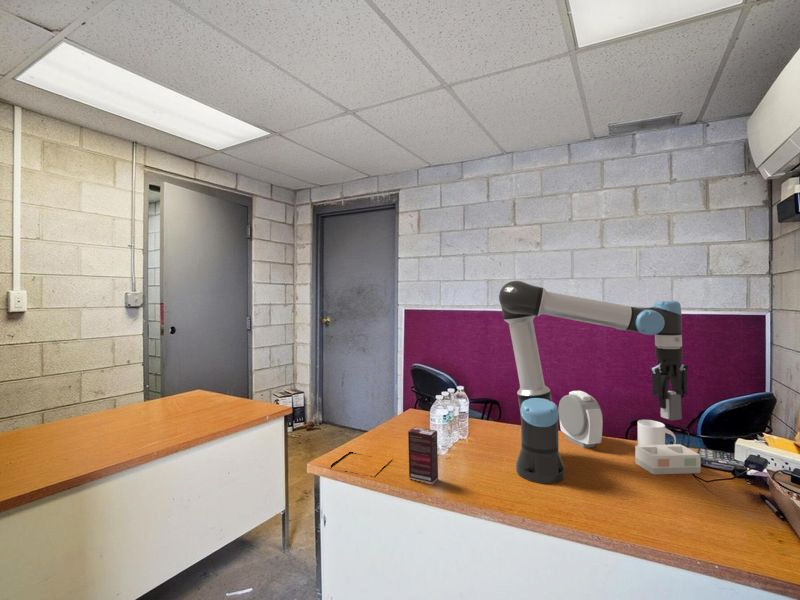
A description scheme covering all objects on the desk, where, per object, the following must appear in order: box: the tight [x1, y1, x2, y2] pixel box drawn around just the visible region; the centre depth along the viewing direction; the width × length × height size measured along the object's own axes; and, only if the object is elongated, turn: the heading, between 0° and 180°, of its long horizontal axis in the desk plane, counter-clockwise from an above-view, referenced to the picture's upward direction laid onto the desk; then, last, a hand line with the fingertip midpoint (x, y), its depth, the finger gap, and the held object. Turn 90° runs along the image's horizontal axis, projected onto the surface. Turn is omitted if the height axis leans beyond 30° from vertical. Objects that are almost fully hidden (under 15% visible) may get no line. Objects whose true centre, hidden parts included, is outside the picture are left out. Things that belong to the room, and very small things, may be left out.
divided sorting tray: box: [634, 443, 702, 475], centre depth 132 cm, size 16×9×6 cm, turn 92°
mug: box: [637, 419, 677, 445], centre depth 145 cm, size 9×12×11 cm
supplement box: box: [407, 426, 439, 485], centre depth 127 cm, size 9×5×16 cm, turn 61°
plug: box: [662, 390, 683, 421], centre depth 131 cm, size 4×4×9 cm
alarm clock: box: [558, 390, 604, 449], centre depth 156 cm, size 18×8×20 cm, turn 14°
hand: (671, 416), depth 131 cm, fingers closed on plug, 4 cm apart
